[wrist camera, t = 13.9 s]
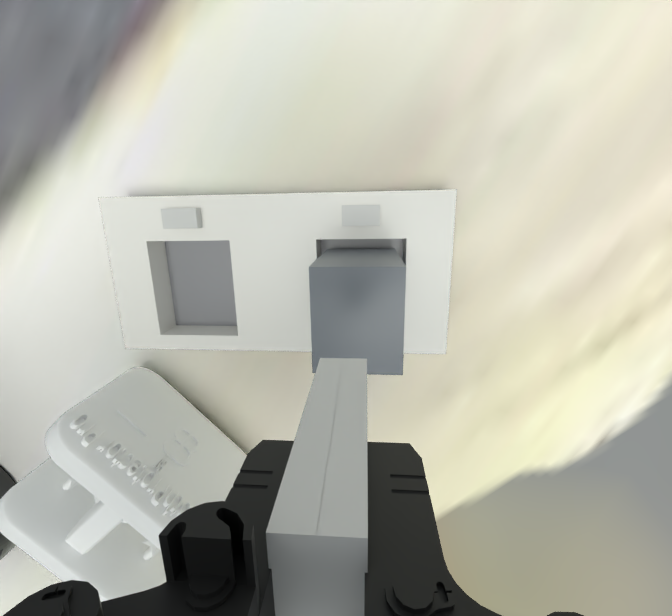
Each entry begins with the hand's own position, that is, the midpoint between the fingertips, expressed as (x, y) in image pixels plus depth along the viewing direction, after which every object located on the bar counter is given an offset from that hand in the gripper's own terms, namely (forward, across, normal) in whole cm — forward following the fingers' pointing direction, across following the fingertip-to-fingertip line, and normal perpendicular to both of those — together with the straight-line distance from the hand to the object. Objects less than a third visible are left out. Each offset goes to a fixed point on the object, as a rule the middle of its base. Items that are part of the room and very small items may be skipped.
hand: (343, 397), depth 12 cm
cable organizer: (+20, -18, -16) cm, 31 cm away
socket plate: (+20, -6, +1) cm, 20 cm away
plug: (+19, 0, 0) cm, 19 cm away
